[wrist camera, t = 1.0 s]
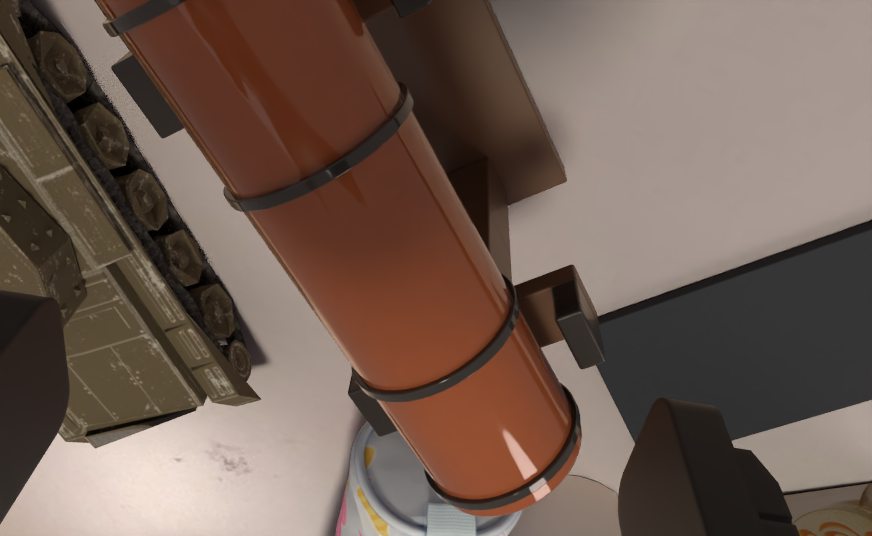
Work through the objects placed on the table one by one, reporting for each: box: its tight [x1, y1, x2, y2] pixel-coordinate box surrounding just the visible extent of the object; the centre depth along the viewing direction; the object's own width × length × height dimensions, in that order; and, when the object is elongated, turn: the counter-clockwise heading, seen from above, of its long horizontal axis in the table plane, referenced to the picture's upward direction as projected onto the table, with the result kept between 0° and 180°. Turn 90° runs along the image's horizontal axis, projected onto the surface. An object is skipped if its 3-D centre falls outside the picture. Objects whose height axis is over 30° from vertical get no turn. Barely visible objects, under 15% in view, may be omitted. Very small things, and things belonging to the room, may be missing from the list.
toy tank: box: [0, 0, 261, 448], centre depth 32 cm, size 10×23×10 cm, turn 21°
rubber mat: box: [596, 221, 872, 444], centre depth 38 cm, size 18×10×1 cm, turn 117°
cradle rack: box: [111, 0, 606, 437], centre depth 26 cm, size 7×14×14 cm, turn 27°
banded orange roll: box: [94, 0, 582, 517], centre depth 20 cm, size 5×16×5 cm, turn 27°
